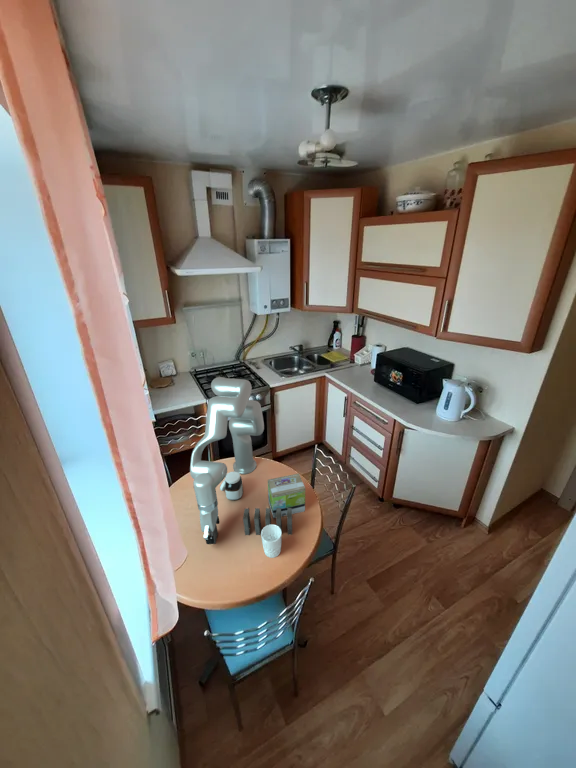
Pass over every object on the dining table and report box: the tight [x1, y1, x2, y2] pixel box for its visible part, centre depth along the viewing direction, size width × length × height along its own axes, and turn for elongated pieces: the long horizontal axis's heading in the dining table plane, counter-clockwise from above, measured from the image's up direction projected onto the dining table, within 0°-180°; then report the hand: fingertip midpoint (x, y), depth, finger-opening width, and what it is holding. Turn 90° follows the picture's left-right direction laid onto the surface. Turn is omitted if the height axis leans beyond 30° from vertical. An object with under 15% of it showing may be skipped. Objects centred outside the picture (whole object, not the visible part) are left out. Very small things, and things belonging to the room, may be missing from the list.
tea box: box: [267, 473, 306, 519], centre depth 141 cm, size 15×10×15 cm
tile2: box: [253, 507, 262, 536], centre depth 131 cm, size 5×2×10 cm, turn 0°
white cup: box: [260, 523, 282, 559], centre depth 123 cm, size 8×8×10 cm
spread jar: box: [219, 470, 244, 501], centre depth 150 cm, size 12×11×12 cm
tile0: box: [208, 524, 219, 545], centre depth 128 cm, size 5×2×10 cm, turn 0°
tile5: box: [286, 508, 293, 536], centre depth 131 cm, size 5×2×10 cm, turn 0°
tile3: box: [264, 507, 272, 526], centre depth 131 cm, size 5×2×10 cm, turn 0°
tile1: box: [242, 507, 252, 536], centre depth 131 cm, size 5×2×10 cm, turn 0°
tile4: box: [275, 508, 283, 532], centre depth 131 cm, size 5×2×10 cm, turn 0°
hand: (213, 533), depth 129 cm, fingers open, 9 cm apart
